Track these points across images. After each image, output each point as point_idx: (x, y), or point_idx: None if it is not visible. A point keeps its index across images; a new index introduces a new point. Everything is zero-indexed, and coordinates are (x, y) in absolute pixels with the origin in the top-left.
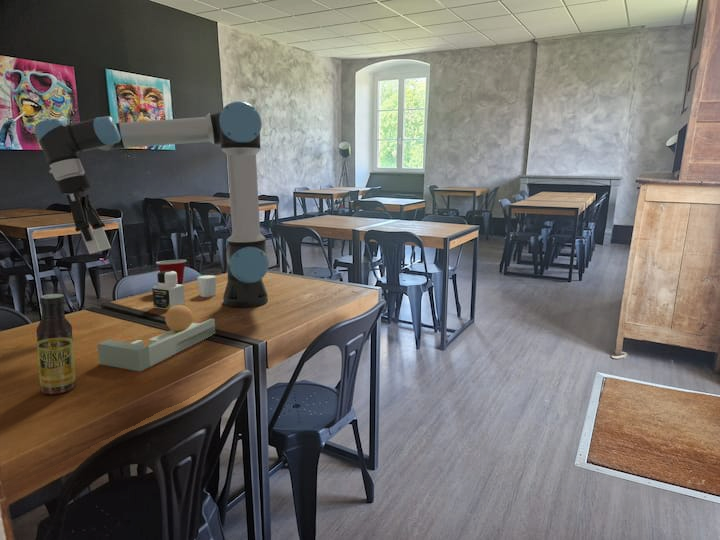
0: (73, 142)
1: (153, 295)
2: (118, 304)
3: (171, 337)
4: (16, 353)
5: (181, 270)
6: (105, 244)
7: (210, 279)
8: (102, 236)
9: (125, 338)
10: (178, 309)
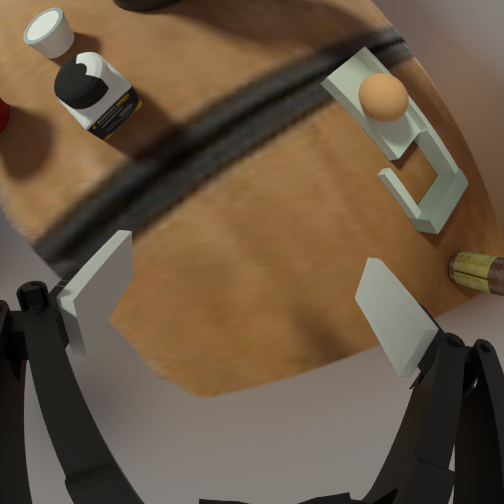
0: None
1: (97, 132)
2: (49, 226)
3: (434, 131)
4: (328, 353)
5: None
6: (123, 259)
7: (63, 15)
8: (102, 283)
9: (325, 194)
10: (407, 95)
